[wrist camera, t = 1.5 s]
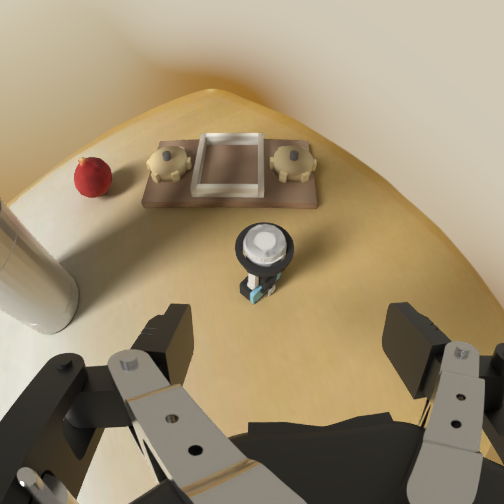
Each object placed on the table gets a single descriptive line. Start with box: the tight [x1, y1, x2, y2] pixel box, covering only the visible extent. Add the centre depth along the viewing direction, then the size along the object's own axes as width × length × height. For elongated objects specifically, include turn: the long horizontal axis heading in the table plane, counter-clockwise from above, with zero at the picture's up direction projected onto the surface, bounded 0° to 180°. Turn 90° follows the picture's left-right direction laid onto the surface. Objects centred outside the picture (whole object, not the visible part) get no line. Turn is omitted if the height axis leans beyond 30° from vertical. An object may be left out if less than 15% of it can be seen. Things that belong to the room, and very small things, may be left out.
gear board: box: [142, 133, 318, 209], centre depth 43 cm, size 25×13×4 cm, turn 89°
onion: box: [74, 157, 112, 198], centre depth 40 cm, size 6×6×8 cm
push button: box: [235, 222, 294, 304], centre depth 32 cm, size 7×5×10 cm
